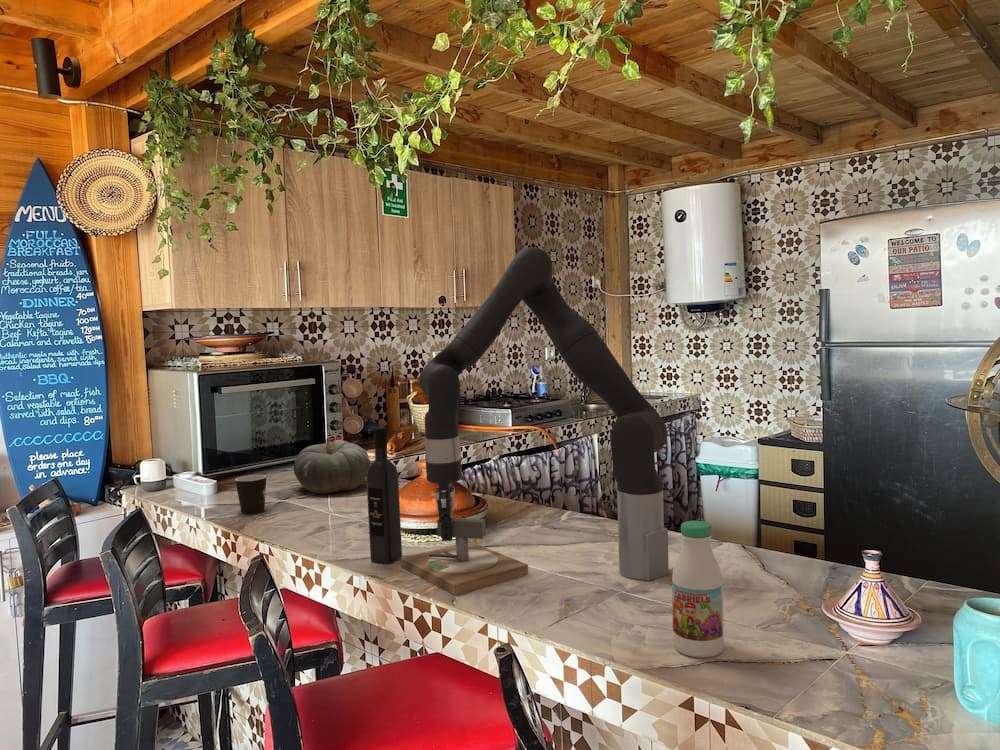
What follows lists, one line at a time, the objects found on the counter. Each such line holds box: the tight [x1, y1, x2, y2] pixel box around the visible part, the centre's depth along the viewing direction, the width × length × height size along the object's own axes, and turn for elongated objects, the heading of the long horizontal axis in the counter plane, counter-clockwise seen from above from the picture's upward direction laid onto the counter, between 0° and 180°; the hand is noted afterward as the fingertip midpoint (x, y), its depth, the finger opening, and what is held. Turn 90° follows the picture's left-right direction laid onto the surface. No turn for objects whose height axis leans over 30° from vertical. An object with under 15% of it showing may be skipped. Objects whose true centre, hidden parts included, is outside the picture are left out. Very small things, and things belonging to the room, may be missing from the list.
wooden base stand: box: [400, 540, 529, 596], centre depth 157 cm, size 22×18×2 cm
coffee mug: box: [234, 474, 267, 515], centre depth 217 cm, size 12×9×10 cm
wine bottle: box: [365, 426, 403, 565], centre depth 165 cm, size 6×6×30 cm
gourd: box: [293, 437, 372, 495], centre depth 241 cm, size 25×25×17 cm
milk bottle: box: [671, 520, 725, 659], centre depth 116 cm, size 8×8×20 cm
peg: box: [429, 517, 487, 561], centre depth 157 cm, size 12×3×8 cm, turn 72°
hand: (447, 537), depth 158 cm, fingers closed on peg, 3 cm apart
